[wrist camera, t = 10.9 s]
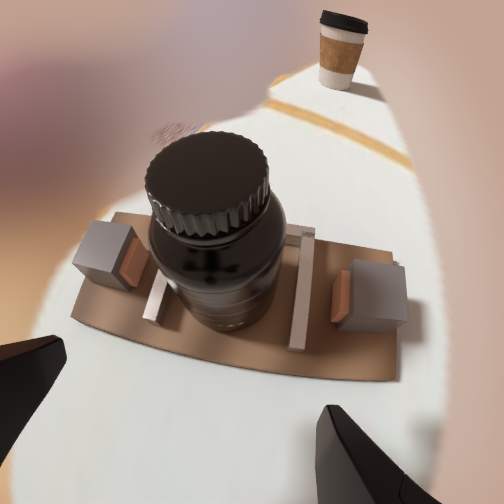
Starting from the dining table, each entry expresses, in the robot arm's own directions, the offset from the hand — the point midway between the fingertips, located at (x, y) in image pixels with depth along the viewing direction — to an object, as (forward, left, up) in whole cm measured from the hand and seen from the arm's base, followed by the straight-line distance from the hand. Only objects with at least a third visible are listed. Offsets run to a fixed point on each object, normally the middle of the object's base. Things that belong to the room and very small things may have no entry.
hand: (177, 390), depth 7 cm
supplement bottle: (+6, +5, -11) cm, 13 cm away
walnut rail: (+6, +5, -12) cm, 14 cm away
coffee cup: (+45, +24, -12) cm, 53 cm away
